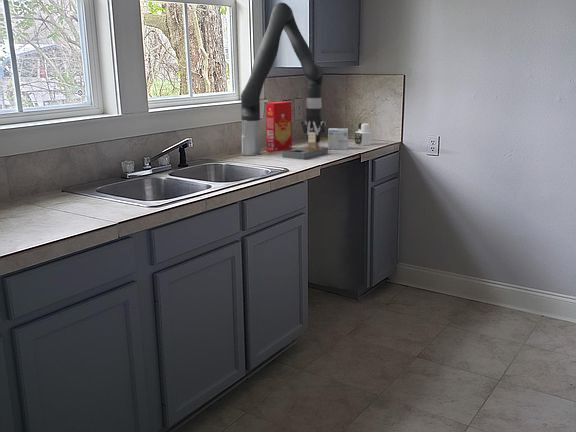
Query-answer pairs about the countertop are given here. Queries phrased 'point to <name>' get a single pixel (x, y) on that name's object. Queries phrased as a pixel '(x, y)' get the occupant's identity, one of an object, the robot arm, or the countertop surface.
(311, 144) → the peg
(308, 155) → the grey flat block
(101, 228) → the countertop surface
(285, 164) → the countertop surface
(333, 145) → the light bulb box
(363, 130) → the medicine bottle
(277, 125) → the food packaging
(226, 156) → the countertop surface
